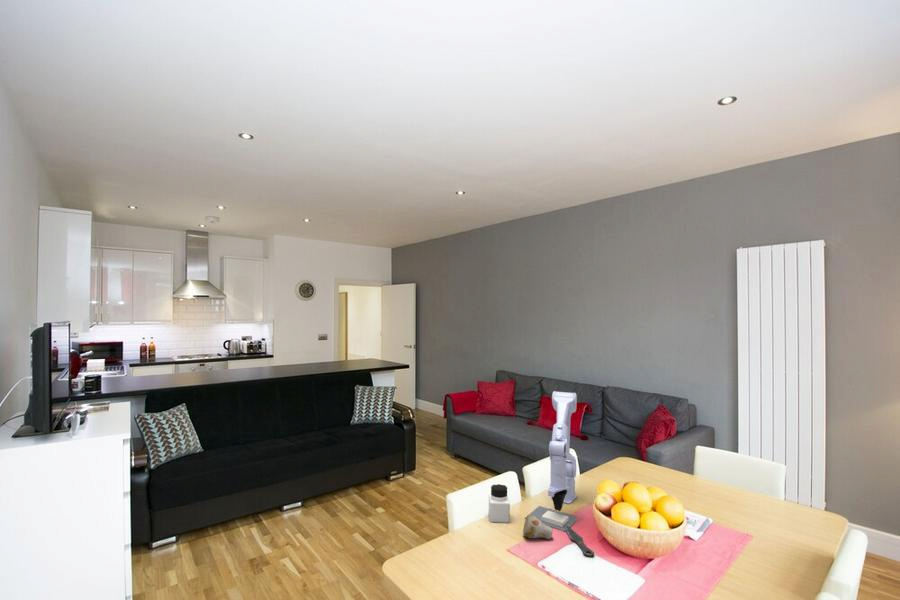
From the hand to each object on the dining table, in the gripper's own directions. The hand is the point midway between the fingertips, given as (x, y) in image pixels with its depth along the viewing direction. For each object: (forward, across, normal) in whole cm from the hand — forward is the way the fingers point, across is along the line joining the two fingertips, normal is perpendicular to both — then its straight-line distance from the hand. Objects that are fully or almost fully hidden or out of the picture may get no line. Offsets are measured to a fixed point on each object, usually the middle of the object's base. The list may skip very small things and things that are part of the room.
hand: (558, 509), depth 158 cm
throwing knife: (+3, -11, -11) cm, 16 cm away
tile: (+2, 0, 0) cm, 2 cm away
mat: (+3, -1, +2) cm, 4 cm away
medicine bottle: (+4, -13, +18) cm, 23 cm away
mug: (+4, -17, +1) cm, 17 cm away
